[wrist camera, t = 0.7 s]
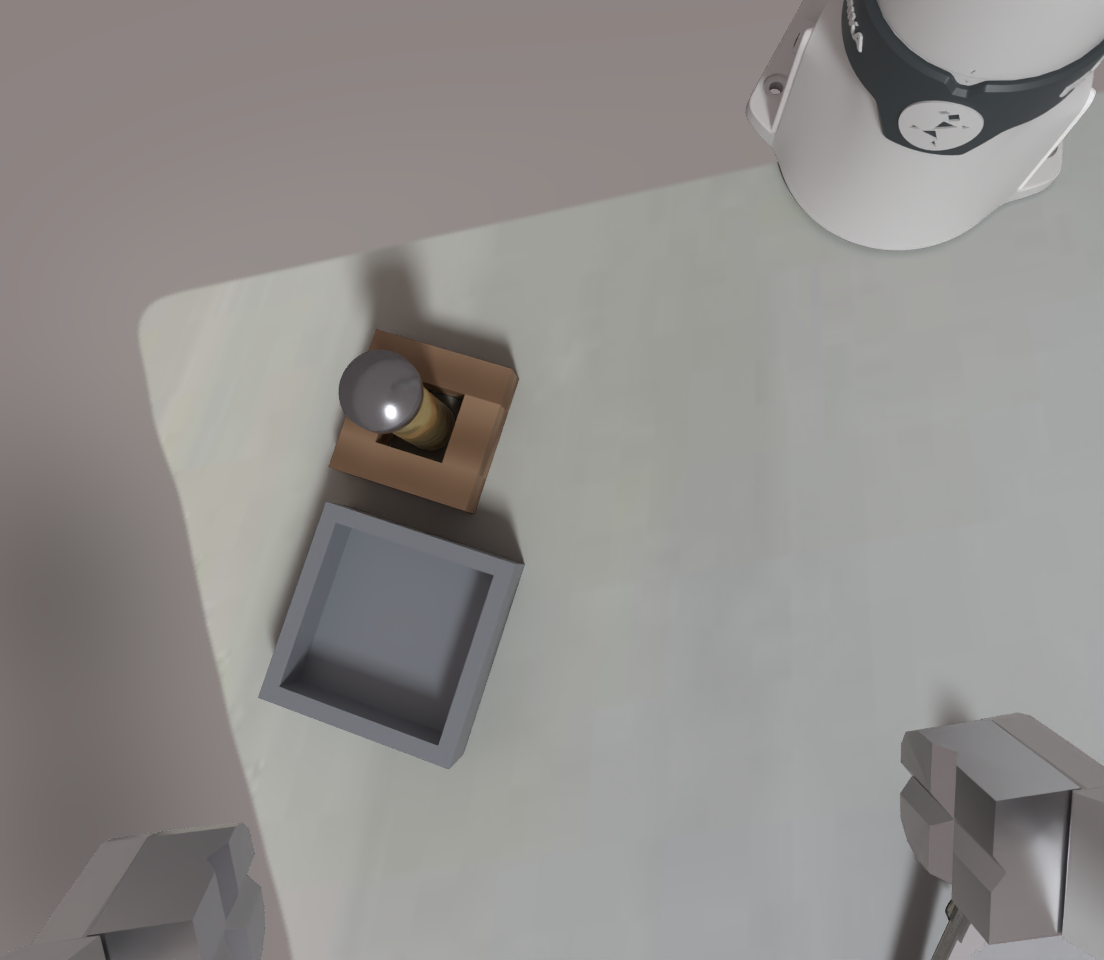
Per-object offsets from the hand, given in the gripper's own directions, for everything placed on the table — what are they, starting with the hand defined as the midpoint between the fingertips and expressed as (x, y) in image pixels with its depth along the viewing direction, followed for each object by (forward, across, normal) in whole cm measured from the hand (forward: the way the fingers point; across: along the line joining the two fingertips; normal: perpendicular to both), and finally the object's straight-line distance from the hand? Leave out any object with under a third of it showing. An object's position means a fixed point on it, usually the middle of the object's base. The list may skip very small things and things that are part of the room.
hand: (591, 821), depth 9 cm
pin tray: (+37, +7, +12) cm, 40 cm away
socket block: (+41, +4, 0) cm, 41 cm away
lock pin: (+41, +4, 0) cm, 41 cm away
